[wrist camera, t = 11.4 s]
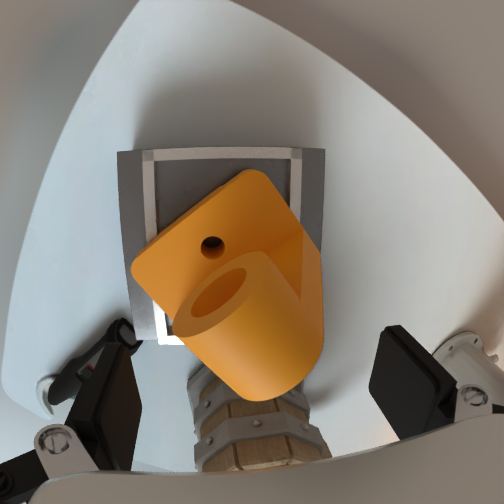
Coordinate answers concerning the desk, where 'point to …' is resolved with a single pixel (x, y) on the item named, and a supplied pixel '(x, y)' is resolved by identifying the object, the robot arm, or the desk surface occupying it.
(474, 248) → the desk surface
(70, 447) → the robot arm
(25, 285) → the desk surface
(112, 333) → the electric trimmer
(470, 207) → the desk surface
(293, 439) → the tankard
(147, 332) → the grey square tray
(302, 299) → the bracket
